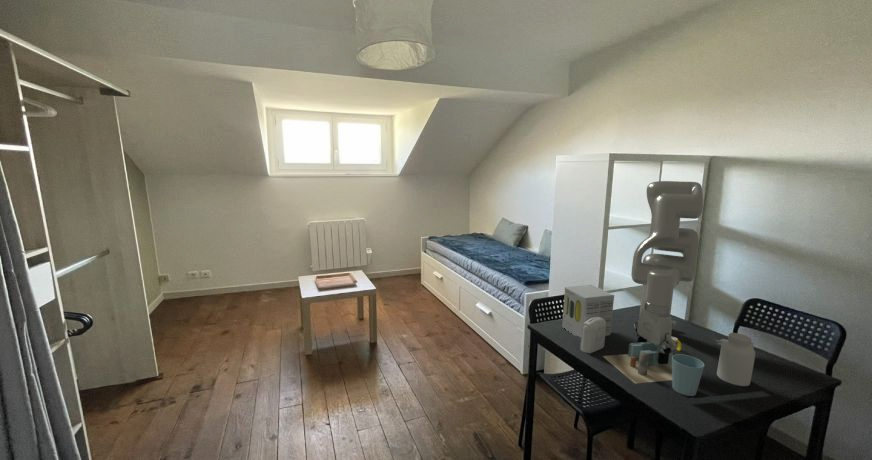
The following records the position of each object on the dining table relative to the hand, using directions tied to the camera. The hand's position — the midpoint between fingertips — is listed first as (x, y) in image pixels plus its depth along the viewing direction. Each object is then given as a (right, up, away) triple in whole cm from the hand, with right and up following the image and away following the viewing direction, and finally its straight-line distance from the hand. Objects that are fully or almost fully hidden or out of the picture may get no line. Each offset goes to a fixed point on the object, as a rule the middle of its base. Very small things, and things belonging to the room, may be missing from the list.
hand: (651, 355), depth 120 cm
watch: (+11, -2, +7) cm, 13 cm away
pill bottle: (+19, -5, -10) cm, 22 cm away
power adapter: (+32, -2, +7) cm, 33 cm away
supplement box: (-13, +1, +23) cm, 26 cm away
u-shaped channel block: (0, -1, 0) cm, 1 cm away
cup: (0, -6, -16) cm, 17 cm away
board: (-4, -3, -4) cm, 7 cm away
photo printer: (-16, -1, +8) cm, 19 cm away
